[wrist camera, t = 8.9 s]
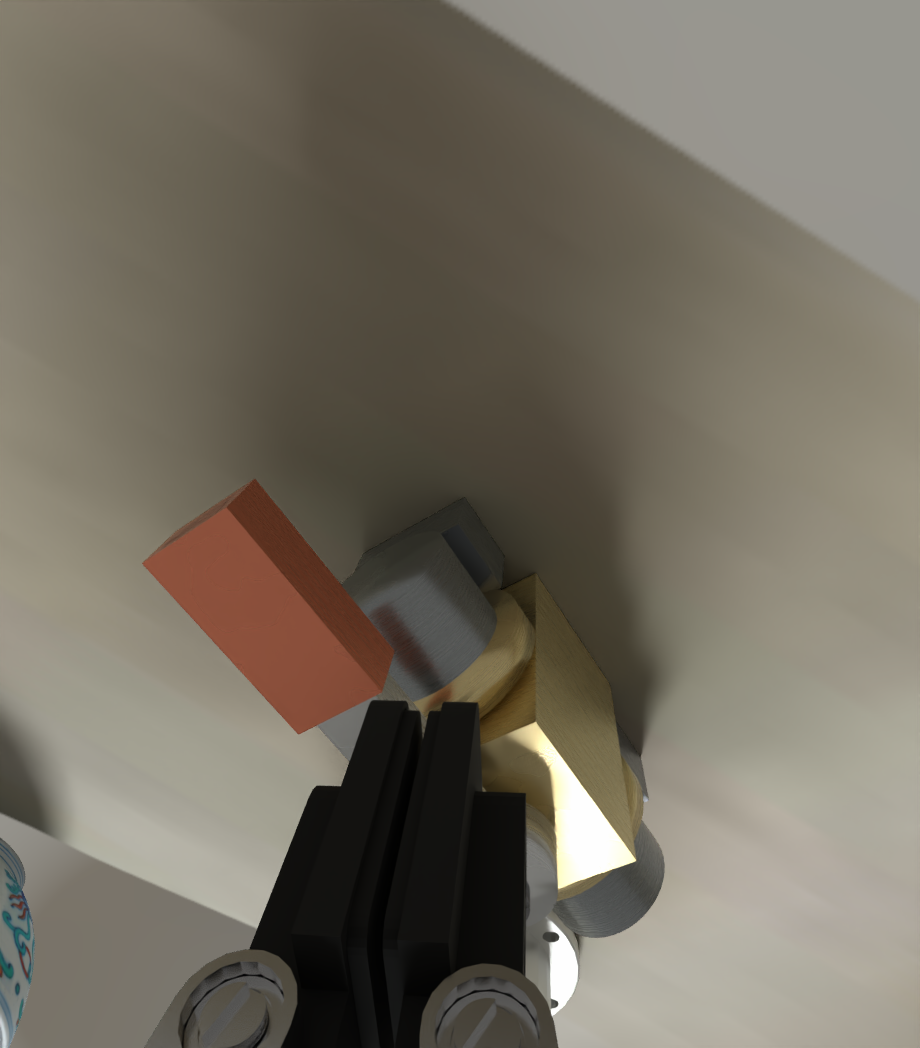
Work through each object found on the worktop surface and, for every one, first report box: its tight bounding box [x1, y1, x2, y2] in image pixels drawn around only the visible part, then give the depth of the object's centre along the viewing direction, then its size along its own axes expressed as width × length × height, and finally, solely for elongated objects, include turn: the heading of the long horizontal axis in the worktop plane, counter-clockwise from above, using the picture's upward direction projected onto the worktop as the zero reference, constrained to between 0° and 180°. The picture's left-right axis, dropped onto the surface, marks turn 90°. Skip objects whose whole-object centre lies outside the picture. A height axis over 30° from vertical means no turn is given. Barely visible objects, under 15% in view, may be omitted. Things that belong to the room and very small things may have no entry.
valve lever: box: [142, 479, 558, 927], centre depth 19 cm, size 15×4×2 cm, turn 34°
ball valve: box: [342, 497, 664, 938], centre depth 27 cm, size 7×16×9 cm, turn 33°
